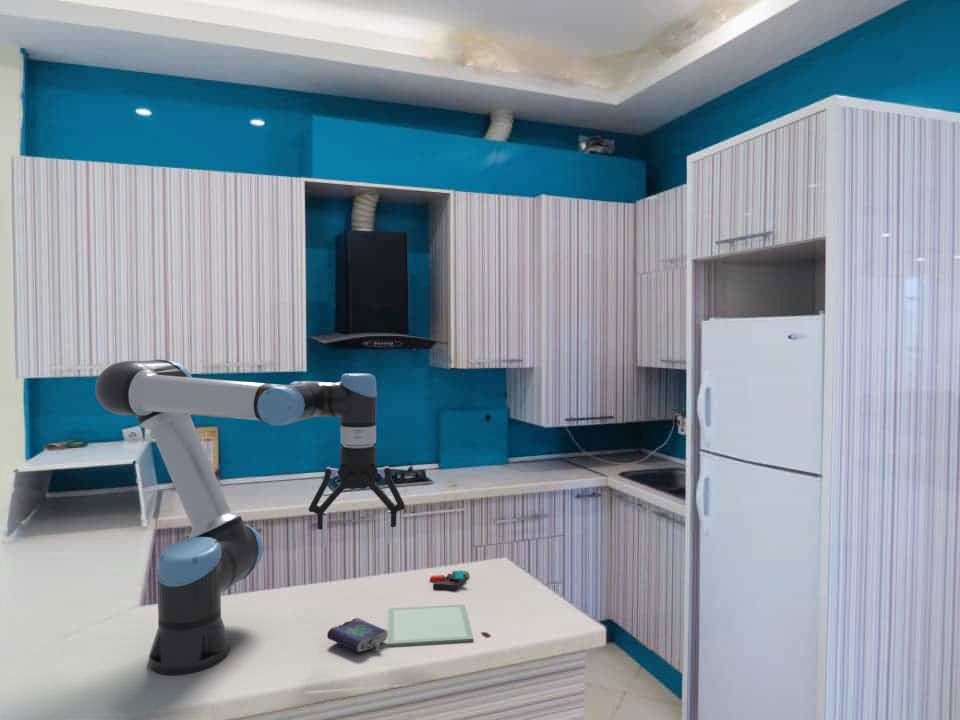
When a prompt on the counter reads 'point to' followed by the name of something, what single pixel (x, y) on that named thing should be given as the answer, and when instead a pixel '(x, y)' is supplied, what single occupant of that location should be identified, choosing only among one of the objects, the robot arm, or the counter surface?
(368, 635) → the blue clover box
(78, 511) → the counter surface
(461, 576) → the toy gun
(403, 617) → the mat
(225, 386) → the robot arm
